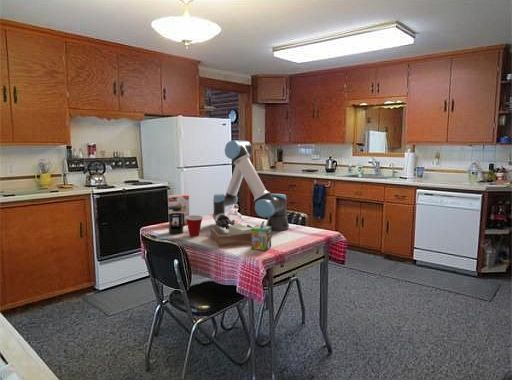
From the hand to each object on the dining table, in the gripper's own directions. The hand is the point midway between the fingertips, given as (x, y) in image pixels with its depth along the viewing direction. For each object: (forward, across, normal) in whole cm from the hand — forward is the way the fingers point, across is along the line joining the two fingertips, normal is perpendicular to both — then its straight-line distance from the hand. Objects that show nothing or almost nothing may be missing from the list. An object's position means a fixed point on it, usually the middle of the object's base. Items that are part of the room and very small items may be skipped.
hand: (231, 228), depth 218 cm
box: (+4, -1, -6) cm, 7 cm away
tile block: (+7, -4, -6) cm, 10 cm away
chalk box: (+25, -10, -6) cm, 27 cm away
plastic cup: (-14, +20, -6) cm, 25 cm away
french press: (-26, +30, -7) cm, 40 cm away
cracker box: (-47, +25, -7) cm, 54 cm away
